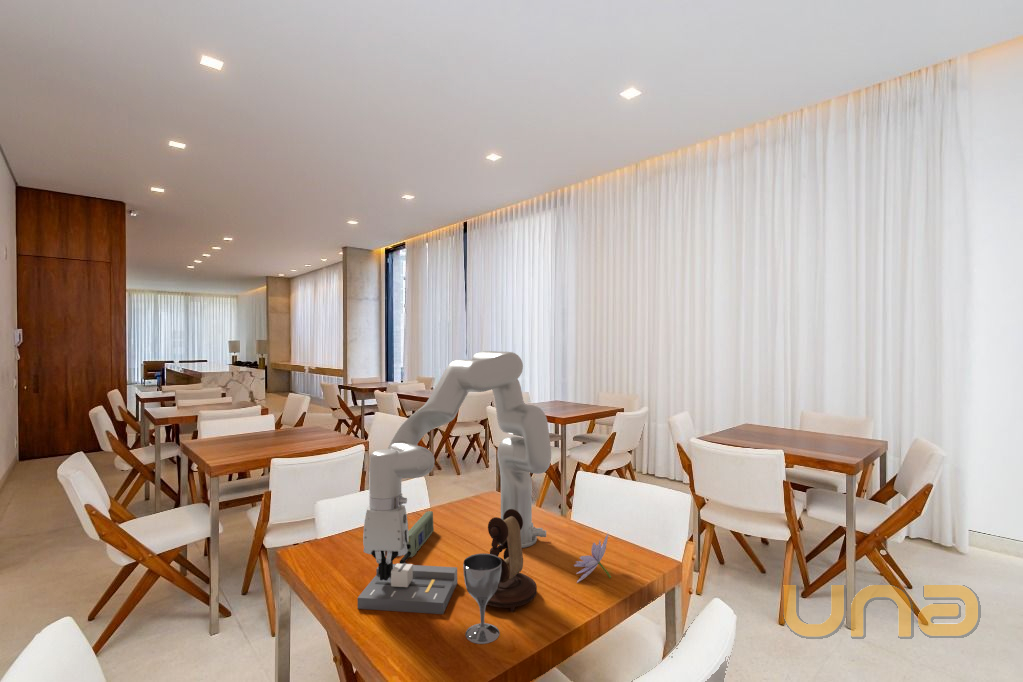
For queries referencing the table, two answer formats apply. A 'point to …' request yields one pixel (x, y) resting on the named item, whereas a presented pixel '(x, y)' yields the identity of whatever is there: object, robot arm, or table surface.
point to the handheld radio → (419, 535)
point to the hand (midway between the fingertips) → (385, 577)
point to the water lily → (592, 559)
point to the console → (412, 591)
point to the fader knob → (402, 575)
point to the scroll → (510, 562)
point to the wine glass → (482, 592)
